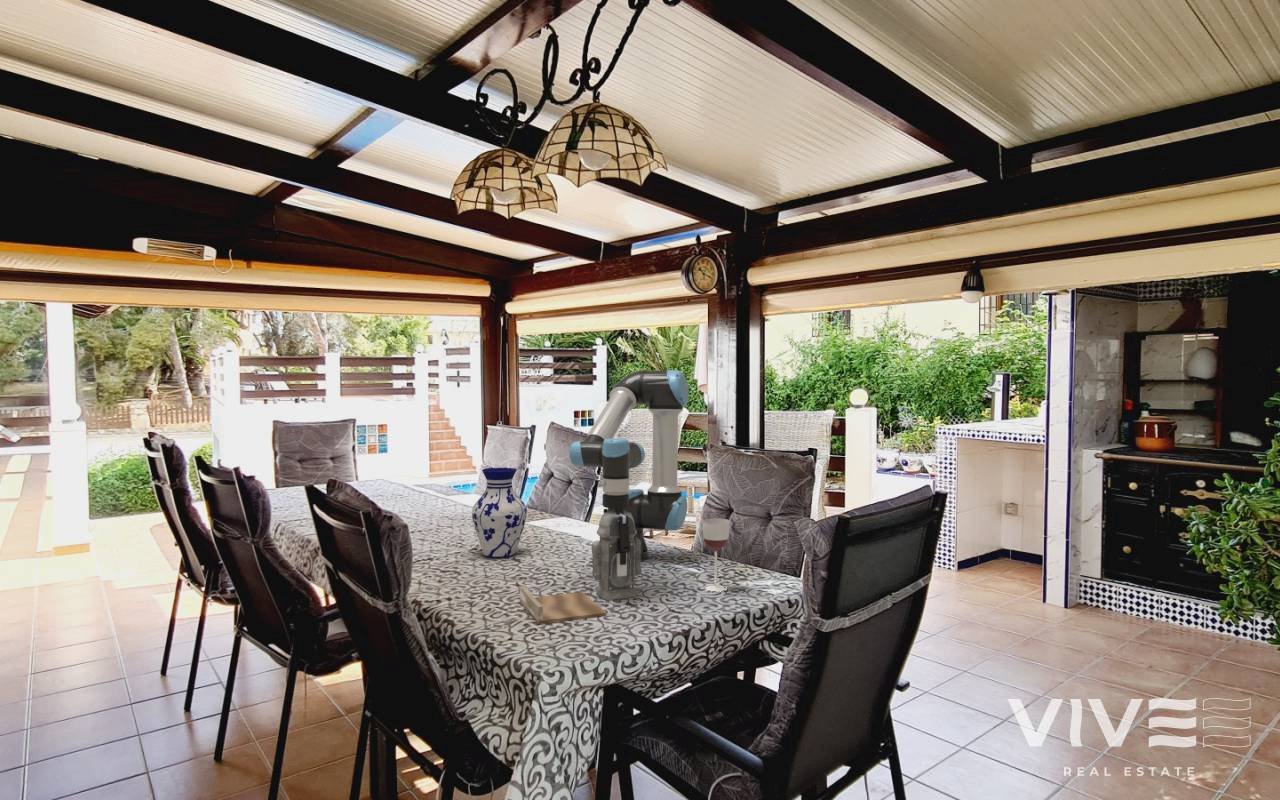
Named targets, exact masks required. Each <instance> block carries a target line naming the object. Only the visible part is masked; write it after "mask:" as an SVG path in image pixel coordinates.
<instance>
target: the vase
mask: <svg viewBox="0 0 1280 800" xmlns="http://www.w3.org/2000/svg"><path fill="white" fill-rule="evenodd" d="M481 471H482V474H483V475H484V477H485V480H486V488H485V490H484V492H483V493H482V495H481V496H480V497H479V499H477V500H476V502H475V503H474V505H473V506H472V509H471V510H472V511H471V517H472V518H471V520H472V523H473V526H474V529H475V532H476V536H477V539H478V542H479V545H480V547H481V550H482V551H481V552H482V554H483V557H485V558H488V559H507V558H511V557H514V556H516V553H517V550H518V547H519V543H520V541H521V538H522V534H523V532H524V531H523V530H524V528H525V524H526V520H527V517H528V516H527V515H528V510H527V506H526V503H525V502H524V501H523V500H522V499H521V498H520V496H519V495H518V494H517V493H516V492H515V490H514V488H513V479H514V476H515V475H516V472H517V468H514V467H513V468H512V467H489V468H483V469H481Z"/></svg>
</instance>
